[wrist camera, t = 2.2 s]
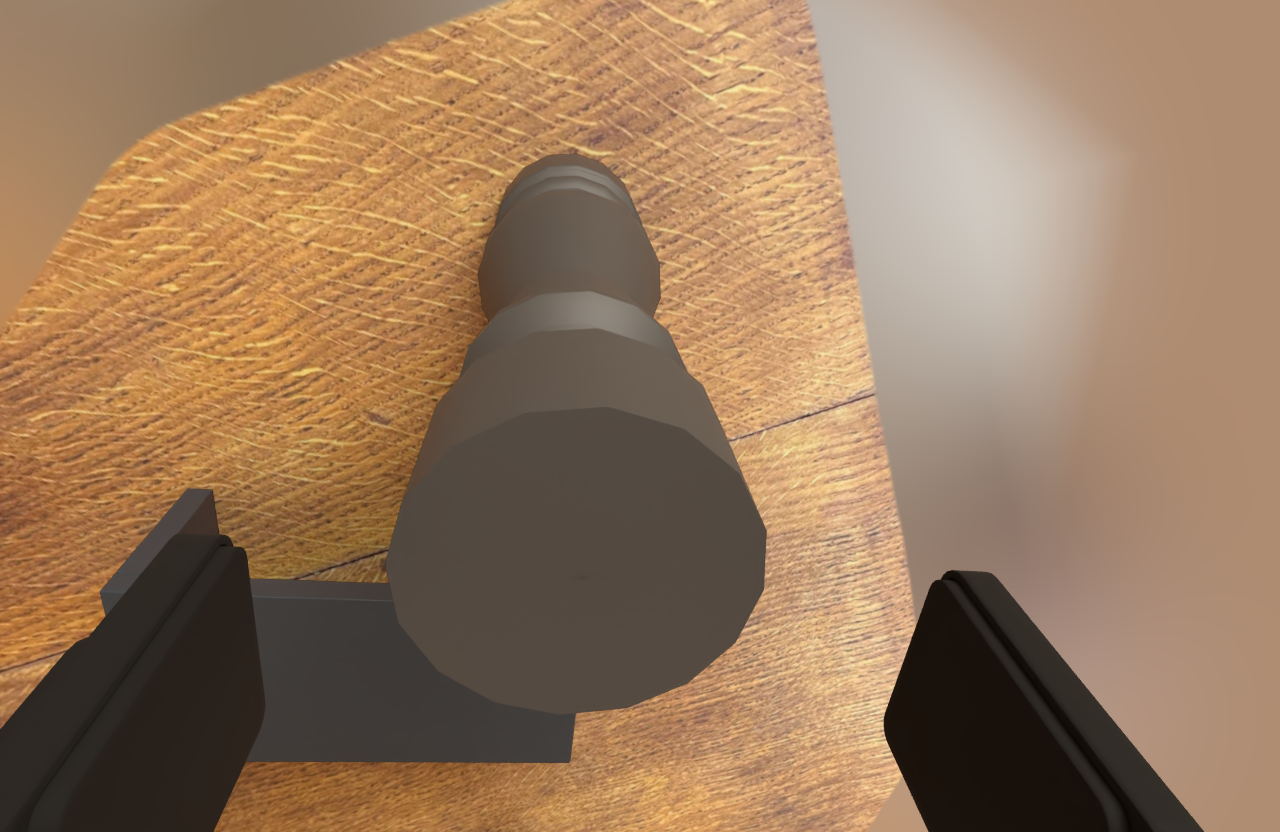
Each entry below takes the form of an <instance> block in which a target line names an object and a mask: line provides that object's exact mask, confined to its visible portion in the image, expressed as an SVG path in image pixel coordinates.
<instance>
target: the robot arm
mask: <svg viewBox="0 0 1280 832" xmlns="http://www.w3.org/2000/svg"><path fill="white" fill-rule="evenodd" d="M264 714H265V694H264V686H263V678H262V670H261V662H260V655H259V647H258V639H257V631H256V623H255V616H254V608H253V600H252V592H251V584H250V577H249V569H248V561H247V555H246V552H245V550H244V548H242V547H233V544H232V541H231V539H230V538H229V537H228V536H226V535H216V534H195V533H178V534H175V535H174V536H173V537H172V538H170V539H169V541H168V542H167V543H166V544H165V545H164V547H163V548H162V549H161V550H160V551H159V553H158V554H157V555H156V556H155V558H154V559H153V560H152V561H151V562H150V564H149V565H148V566H147V567H146V568H145V570H144V571H143V572H142V573H141V574H140V576H139V577H138V578H137V579H136V580H135V582H134V583H133V584H132V585H131V586H130V588H129V589H128V590H127V591H126V592H125V594H124V595H123V596H122V597H121V598H120V600H119V601H118V602H117V603H116V605H115V606H114V607H113V608H112V609H111V611H110V612H109V613H108V614H107V615H106V617H105V618H104V619H103V620H102V621H101V623H100V624H99V625H98V626H97V627H96V629H95V630H94V631H93V632H92V633H91V635H90V636H89V637H87V638H84V639H82V640H80V641H78V642H76V643H75V644H74V645H73V646H72V647H71V648H70V649H69V650H67V651H66V652H65V654H64V655H63V656H62V657H61V658H60V659H59V661H58V662H57V663H56V664H55V665H54V666H53V668H52V669H51V670H50V671H49V672H48V674H47V675H46V676H45V677H44V678H43V679H42V681H41V682H40V683H39V684H38V685H37V687H36V688H35V689H34V690H33V691H32V692H31V694H30V695H29V696H28V697H27V698H26V700H25V701H24V702H23V703H22V704H21V705H20V707H19V708H18V709H17V710H16V711H15V713H14V714H13V715H12V716H11V717H10V718H9V720H8V721H7V722H6V723H5V724H4V726H3V727H2V728H1V729H0V832H214V829H215V827H216V825H217V823H218V821H219V819H220V816H221V814H222V812H223V810H224V808H225V806H226V803H227V801H228V799H229V797H230V795H231V793H232V790H233V788H234V786H235V784H236V782H237V779H238V777H239V775H240V773H241V771H242V769H243V766H244V764H245V762H246V760H247V758H248V756H249V753H250V751H251V749H252V747H253V745H254V743H255V740H256V738H257V736H258V734H259V732H260V729H261V726H262V723H263V719H264ZM884 732H885V737H886V740H887V743H888V745H889V747H890V749H891V751H892V754H893V756H894V758H895V760H896V762H897V764H898V767H899V769H900V771H901V773H902V775H903V777H904V780H905V782H906V784H907V786H908V788H909V790H910V793H911V795H912V796H913V799H914V801H915V803H916V806H917V808H918V810H919V812H920V814H921V816H922V819H923V820H924V823H925V825H926V827H927V829H928V831H929V832H1204V831H1203V830H1202V829H1201V827H1200V826H1199V825H1198V824H1197V822H1196V821H1195V820H1194V819H1193V817H1192V816H1191V815H1190V814H1189V813H1188V811H1187V810H1186V809H1185V808H1184V806H1183V805H1182V804H1181V803H1180V802H1179V800H1178V799H1177V798H1176V797H1175V795H1174V794H1173V793H1172V792H1171V791H1170V789H1169V788H1168V787H1167V786H1166V784H1165V783H1164V782H1163V781H1162V779H1161V778H1160V777H1159V776H1158V775H1157V773H1156V772H1155V771H1154V770H1153V768H1152V767H1151V766H1150V765H1149V764H1148V762H1147V761H1146V760H1145V759H1144V758H1143V756H1142V755H1141V754H1140V753H1139V751H1138V750H1137V749H1136V748H1135V746H1134V745H1133V744H1132V743H1131V742H1130V741H1129V739H1128V738H1127V737H1126V735H1125V734H1124V733H1123V732H1122V731H1121V729H1120V728H1119V727H1118V726H1117V724H1116V723H1115V722H1114V721H1113V719H1112V718H1111V717H1110V716H1109V715H1108V713H1107V712H1106V711H1105V710H1104V709H1103V707H1102V706H1101V705H1100V704H1099V702H1098V701H1097V700H1096V699H1095V697H1094V696H1093V695H1092V694H1091V693H1090V691H1089V690H1088V689H1087V688H1086V687H1085V685H1084V684H1083V683H1082V682H1081V680H1080V679H1079V678H1078V677H1077V675H1075V673H1074V672H1073V671H1072V669H1071V668H1070V667H1069V666H1068V664H1067V663H1066V662H1065V661H1064V660H1063V658H1062V657H1061V656H1060V655H1059V653H1058V652H1057V651H1056V650H1055V648H1054V647H1053V646H1052V645H1051V644H1050V642H1049V641H1048V640H1047V639H1046V638H1045V636H1044V635H1043V634H1042V633H1041V631H1040V630H1039V629H1038V628H1037V626H1036V625H1035V624H1034V623H1033V622H1032V621H1031V619H1030V618H1029V617H1028V615H1027V614H1026V613H1025V612H1024V611H1023V609H1022V608H1021V607H1020V606H1019V604H1018V603H1017V602H1016V601H1015V599H1014V598H1013V597H1012V596H1011V595H1010V593H1009V592H1008V591H1007V590H1006V588H1005V587H1004V586H1003V585H1002V584H1001V582H1000V581H999V580H998V579H997V578H996V577H995V576H994V575H993V574H991V573H988V572H978V571H958V570H957V571H956V570H951V571H947V572H946V573H945V574H944V575H943V577H942V578H941V580H936V581H934V582H933V583H932V585H931V587H930V589H929V592H928V595H927V597H926V600H925V603H924V606H923V609H922V612H921V614H920V617H919V620H918V622H917V625H916V628H915V631H914V634H913V636H912V639H911V642H910V645H909V648H908V650H907V653H906V656H905V659H904V662H903V664H902V667H901V670H900V673H899V676H898V678H897V681H896V684H895V687H894V690H893V692H892V695H891V698H890V701H889V704H888V706H887V709H886V712H885V716H884Z"/></svg>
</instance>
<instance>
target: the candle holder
mask: <svg viewBox="0 0 1280 832" xmlns="http://www.w3.org/2000/svg"><path fill="white" fill-rule="evenodd" d="M478 281H479V289H480V296H481V303H482V310H483V312H484V314H485V316H486V318H487V320H488V322H489V323H488V324H487V325H486V326H485V328H484V329H483V330H482V331H481V332H480V333H479V335H478V336H477V337H476V338H475V339H474V340H473V341H472V343H471V344H470V345H469V347H468V351H467V354H466V358H465V361H464V364H463V368H462V371H461V375H460V378H459V379H458V380H457V381H456V383H455V384H454V385H453V386H452V387H451V388H450V389H449V391H448V392H447V393H446V394H445V395H444V396H443V397H442V399H441V400H440V401H439V402H438V403H437V404H436V407H435V410H434V413H433V415H432V418H431V421H430V424H429V427H428V430H427V432H426V435H425V438H424V441H423V444H422V446H421V449H420V452H419V455H418V458H417V460H416V463H415V466H414V469H413V472H412V475H411V477H410V480H409V483H408V486H407V489H406V491H405V494H404V497H403V500H402V503H401V507H400V510H399V514H398V518H397V521H396V525H395V529H394V532H393V536H392V539H391V543H390V547H389V550H388V554H387V558H386V561H385V567H386V571H387V575H388V580H389V584H390V588H391V593H392V597H393V601H394V605H395V610H396V614H397V618H398V622H399V624H400V626H401V627H402V628H403V629H404V630H405V632H406V633H407V634H408V635H409V636H410V638H411V639H412V640H413V641H414V643H415V644H416V645H417V646H418V647H419V649H420V650H421V651H422V652H423V653H424V655H425V656H426V657H427V658H428V660H429V661H430V662H431V663H432V664H433V666H434V667H435V668H436V669H437V671H439V672H440V673H442V674H444V675H446V676H448V677H449V678H451V679H453V680H455V681H457V682H458V683H460V684H462V685H464V686H466V687H468V688H469V689H471V690H473V691H475V692H477V693H478V694H480V695H482V696H484V697H486V698H488V699H489V700H491V701H493V702H495V703H500V704H506V705H511V706H516V707H522V708H527V709H532V710H538V711H543V712H548V713H553V714H559V715H563V714H573V713H583V712H593V711H602V710H612V709H622V708H628V707H631V706H633V705H636V704H638V703H640V702H643V701H645V700H648V699H650V698H653V697H655V696H658V695H660V694H662V693H665V692H667V691H670V690H672V689H675V688H677V687H680V686H682V685H684V684H687V683H689V682H690V681H691V680H692V679H693V678H694V677H696V676H697V675H698V674H699V673H700V672H701V671H703V670H704V669H705V668H706V667H707V666H709V665H710V664H711V663H712V662H713V661H714V660H716V659H717V658H718V657H719V656H720V655H721V654H723V653H724V652H725V651H726V650H727V649H729V648H730V647H731V646H732V645H733V644H734V643H736V641H737V639H738V637H739V635H740V633H741V631H742V630H743V628H744V626H745V624H746V622H747V620H748V618H749V617H750V615H751V613H752V611H753V609H754V607H755V605H756V603H757V602H758V600H759V598H760V596H761V594H762V592H763V590H764V575H765V554H766V533H767V531H766V528H765V526H764V524H763V521H762V519H761V517H760V514H759V512H758V510H757V507H756V505H755V502H754V500H753V498H752V495H751V493H750V491H749V488H748V486H747V484H746V481H745V479H744V477H743V474H742V472H741V470H740V467H739V465H738V463H737V460H736V458H735V456H734V453H733V451H732V449H731V446H730V444H729V441H728V439H727V437H726V434H725V432H724V430H723V428H722V426H721V424H720V421H719V419H718V417H717V415H716V413H715V411H714V408H713V406H712V404H711V402H710V400H709V398H708V395H707V393H706V391H705V389H704V387H703V385H702V384H701V383H700V382H699V381H697V380H696V379H695V378H694V377H693V376H691V375H690V374H689V373H688V371H687V369H686V367H685V365H684V363H683V361H682V359H681V357H680V354H679V352H678V350H677V348H676V346H675V344H674V342H673V339H672V337H671V335H670V333H669V331H668V330H666V329H665V328H664V327H663V326H662V325H661V324H660V323H658V322H657V321H656V320H655V319H654V318H653V316H654V314H655V311H656V309H657V306H658V303H659V301H660V298H661V293H660V263H659V261H658V258H657V256H656V254H655V252H654V250H653V247H652V245H651V243H650V241H649V239H648V236H647V234H646V232H645V230H644V228H643V226H642V222H641V219H640V217H639V215H638V213H637V211H636V208H635V206H634V204H633V202H632V199H631V197H630V195H629V193H628V191H627V189H626V187H625V184H624V183H623V182H622V181H621V180H620V179H619V178H618V177H617V176H616V175H615V174H614V173H613V172H612V171H611V170H610V169H609V168H607V167H606V166H605V165H604V164H603V163H600V162H598V161H595V160H592V159H590V158H587V157H584V156H582V155H579V154H563V155H548V156H546V157H544V158H542V159H540V160H538V161H536V162H534V163H532V164H530V165H528V166H526V167H524V168H523V170H522V171H521V172H520V173H519V174H518V176H517V177H516V178H515V179H514V181H513V182H512V183H511V184H510V185H509V187H508V188H507V189H506V192H505V194H504V197H503V199H502V201H501V205H500V208H499V212H498V215H497V219H496V222H495V226H494V229H493V231H492V233H491V234H490V235H489V237H488V239H487V243H486V246H485V250H484V253H483V257H482V261H481V264H480V268H479V271H478Z"/></svg>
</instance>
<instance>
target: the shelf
mask: <svg viewBox="0 0 1280 832" xmlns="http://www.w3.org/2000/svg"><path fill="white" fill-rule="evenodd" d="M178 533H195V534H216V535H219V531H218V525H217V518H216V511H215V504H214V498H213V491H212V490H208V489H187V490H186V491H185V492H184V493H183V494H182V496H181V497H180V498H179V499H178V500H177V501H176V503H175V504H174V505H173V506H172V507H171V509H170V510H169V511H168V512H167V513H166V514H165V516H164V517H163V518H162V519H161V520H160V521H159V523H158V524H157V525H156V526H155V527H154V528H153V530H152V531H151V532H150V533H149V534H148V535H147V537H146V538H145V539H144V540H143V541H142V542H141V544H140V545H139V546H138V547H137V548H136V549H135V551H134V552H133V553H132V554H131V555H130V556H129V558H128V559H127V560H126V561H125V562H124V563H123V565H122V566H121V567H120V568H119V569H118V571H117V572H116V574H114V575H113V577H112V578H111V579H110V580H109V581H108V582H107V584H106V585H105V586H104V587H103V588H102V589H101V591H100V595H101V599H102V603H103V607H104V611H105V615H107V614H108V613H109V612H110V611H111V609H112V608H113V607H114V606H115V605H116V603H117V602H118V601H119V600H120V598H121V597H122V596H123V595H124V594H125V592H126V591H127V590H128V589H129V588H130V586H131V585H132V584H133V583H134V582H135V580H136V579H137V578H138V577H139V576H140V574H141V573H142V572H143V571H144V570H145V568H146V567H147V566H148V565H149V564H150V562H151V561H152V560H153V559H154V558H155V556H156V555H157V554H158V553H159V551H160V550H161V549H162V548H163V547H164V545H165V544H166V543H167V542H168V541H169V539H170V538H172V537H173V536H174V535H175V534H178ZM250 584H251V592H252V600H253V608H254V616H255V623H256V631H257V639H258V647H259V655H260V662H261V670H262V678H263V686H264V694H265V714H264V719H263V723H262V726H261V729H260V732H259V734H258V736H257V738H256V740H255V743H254V745H253V747H252V749H251V751H250V753H249V756H248V758H247V760H246V762H461V763H570V760H571V751H572V742H573V734H574V725H575V716H576V713H573V714H563V715H559V714H553V713H548V712H543V711H538V710H532V709H527V708H522V707H516V706H511V705H506V704H500V703H495V702H493V701H491V700H489V699H488V698H486V697H484V696H482V695H480V694H478V693H477V692H475V691H473V690H471V689H469V688H468V687H466V686H464V685H462V684H460V683H458V682H457V681H455V680H453V679H451V678H449V677H448V676H446V675H444V674H442V673H440V672H439V671H437V669H436V668H435V667H434V666H433V664H432V663H431V662H430V661H429V660H428V658H427V657H426V656H425V655H424V653H423V652H422V651H421V650H420V649H419V647H418V646H417V645H416V644H415V643H414V641H413V640H412V639H411V638H410V636H409V635H408V634H407V633H406V632H405V630H404V629H403V628H402V627H401V626H400V624H399V622H398V618H397V614H396V610H395V605H394V601H393V597H392V593H391V588H390V584H389V583H365V582H337V581H309V580H281V579H253V578H250Z"/></svg>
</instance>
